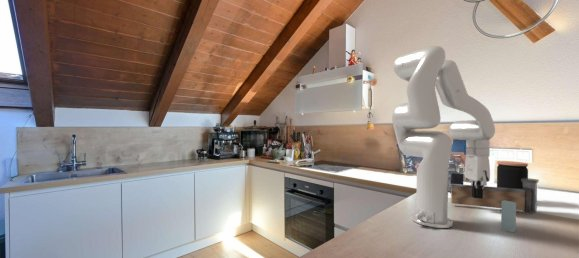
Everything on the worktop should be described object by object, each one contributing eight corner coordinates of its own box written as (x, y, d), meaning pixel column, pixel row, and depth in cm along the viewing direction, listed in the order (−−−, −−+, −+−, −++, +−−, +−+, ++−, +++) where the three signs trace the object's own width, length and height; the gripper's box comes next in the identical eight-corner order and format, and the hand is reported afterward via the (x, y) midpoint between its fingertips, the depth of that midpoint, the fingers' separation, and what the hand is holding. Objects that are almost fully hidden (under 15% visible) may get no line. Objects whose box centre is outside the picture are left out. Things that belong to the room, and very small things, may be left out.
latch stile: (513, 232, 79) (513, 203, 79) (501, 229, 81) (501, 201, 81) (515, 230, 81) (515, 202, 81) (503, 227, 83) (504, 200, 83)
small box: (464, 194, 128) (464, 173, 128) (450, 193, 129) (450, 173, 129) (455, 189, 138) (455, 170, 138) (442, 188, 140) (442, 169, 140)
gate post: (536, 214, 97) (536, 180, 97) (520, 211, 101) (521, 178, 101) (538, 212, 100) (538, 179, 100) (523, 209, 103) (523, 177, 104)
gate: (451, 204, 106) (451, 184, 106) (450, 203, 108) (450, 183, 108) (532, 212, 97) (532, 190, 97) (529, 211, 99) (529, 189, 99)
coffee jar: (531, 206, 107) (531, 164, 107) (498, 202, 113) (499, 162, 113) (524, 201, 116) (524, 162, 116) (494, 197, 122) (495, 160, 122)
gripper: (458, 150, 109) (458, 192, 109) (477, 153, 94) (477, 202, 94) (477, 151, 108) (477, 193, 108) (500, 154, 93) (499, 203, 93)
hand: (477, 197), depth 101 cm, fingers closed
